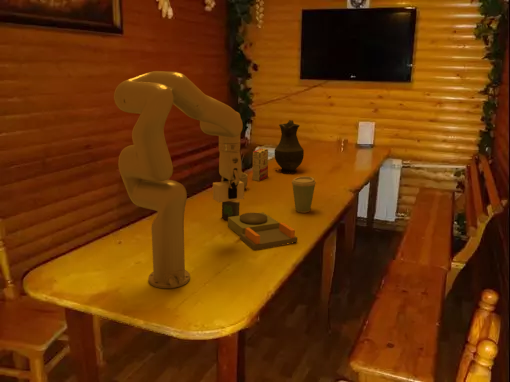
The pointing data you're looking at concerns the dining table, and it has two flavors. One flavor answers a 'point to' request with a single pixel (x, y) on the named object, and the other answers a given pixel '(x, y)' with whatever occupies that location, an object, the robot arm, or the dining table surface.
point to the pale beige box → (226, 191)
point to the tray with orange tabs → (261, 230)
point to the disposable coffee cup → (303, 193)
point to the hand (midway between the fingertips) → (229, 195)
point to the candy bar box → (260, 164)
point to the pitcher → (289, 148)
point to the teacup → (244, 179)
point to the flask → (230, 209)
